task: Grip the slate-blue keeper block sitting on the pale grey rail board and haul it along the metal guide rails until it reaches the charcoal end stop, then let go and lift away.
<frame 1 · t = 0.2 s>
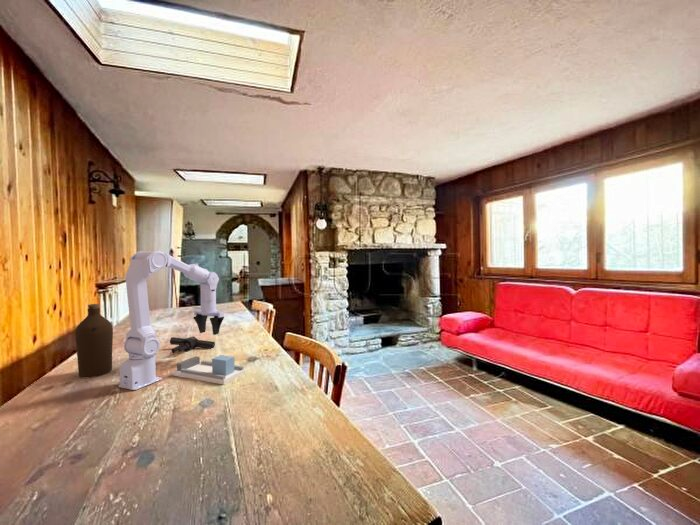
hand: (209, 333, 128), 10 cm above the table, tool pointing down, fingers open, 7 cm apart
rail board: (209, 374, 110), on the table
olive oil: (96, 373, 113), on the table
keeper: (223, 364, 108), point 4 cm above the table, slide at 0.0 cm
black forked piece: (187, 351, 137), on the table
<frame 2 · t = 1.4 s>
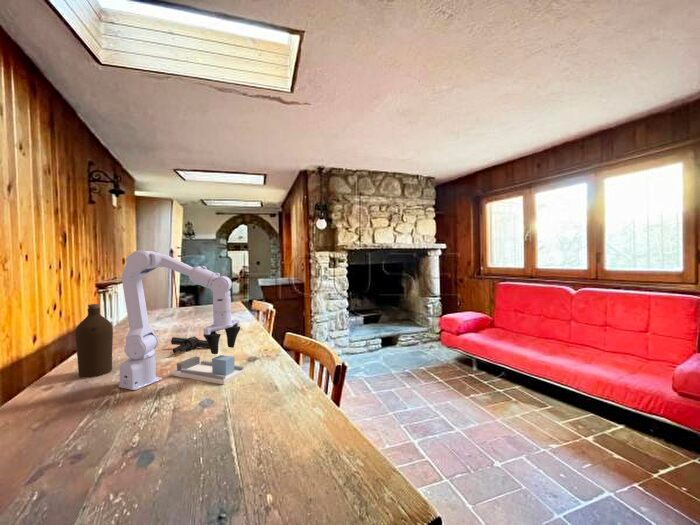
hand: (223, 350, 108), 9 cm above the table, tool pointing down, fingers open, 7 cm apart
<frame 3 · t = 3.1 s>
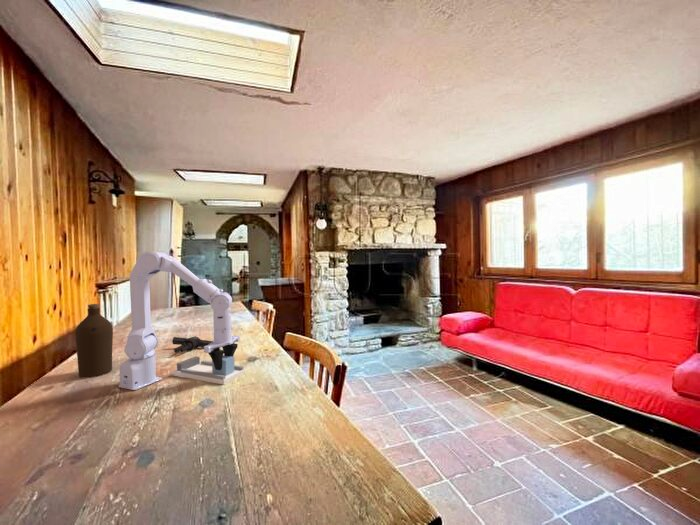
hand: (223, 367, 108), 3 cm above the table, tool pointing down, fingers closed on keeper, 4 cm apart
keeper: (223, 364, 108), point 4 cm above the table, slide at 0.0 cm, touching gripper
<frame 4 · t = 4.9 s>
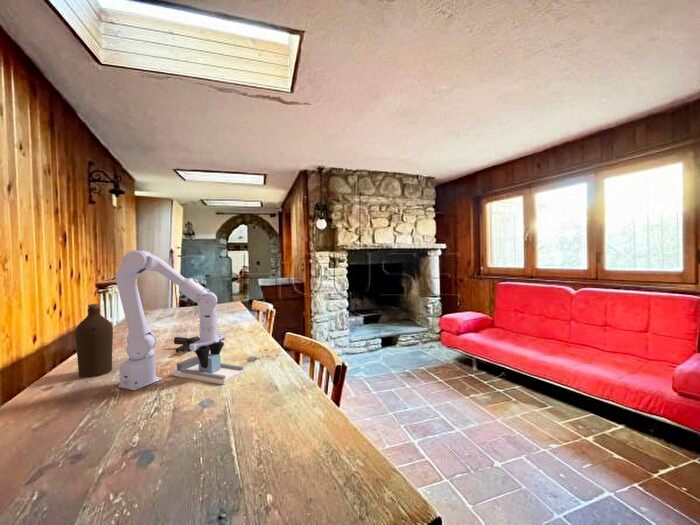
hand: (209, 365, 110), 3 cm above the table, tool pointing down, fingers closed on keeper, 4 cm apart
keeper: (209, 362, 110), point 4 cm above the table, slide at 6.2 cm, touching gripper
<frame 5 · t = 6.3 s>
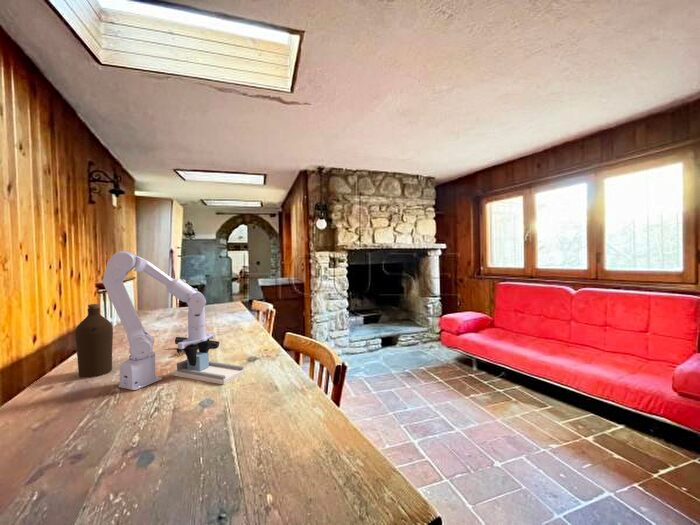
hand: (197, 363, 112), 3 cm above the table, tool pointing down, fingers closed on keeper, 4 cm apart
keeper: (197, 361, 112), point 4 cm above the table, slide at 11.7 cm, touching gripper
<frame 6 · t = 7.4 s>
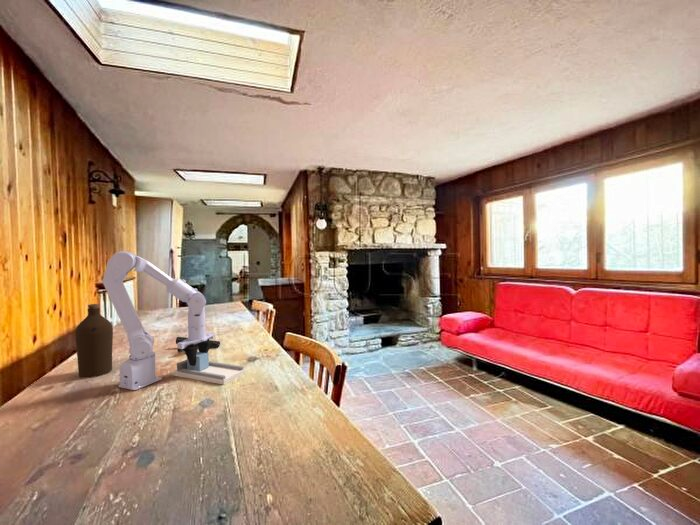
hand: (197, 363, 112), 3 cm above the table, tool pointing down, fingers closed on keeper, 4 cm apart
keeper: (197, 361, 112), point 4 cm above the table, slide at 11.8 cm, touching gripper
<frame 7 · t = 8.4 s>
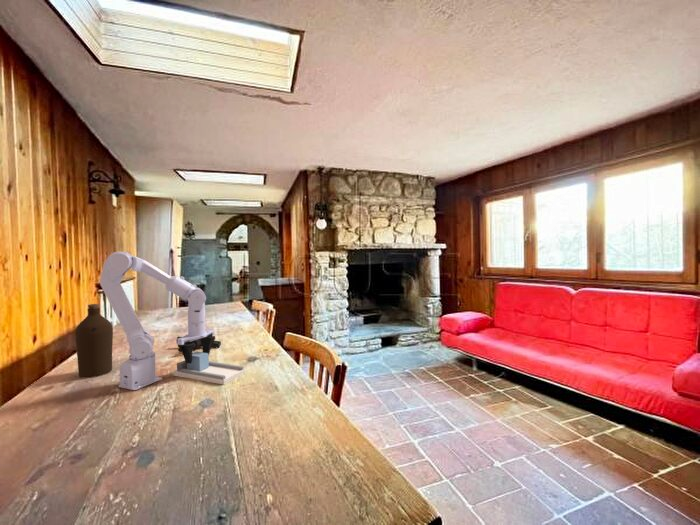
hand: (197, 359, 112), 5 cm above the table, tool pointing down, fingers open, 7 cm apart
keeper: (197, 361, 112), point 4 cm above the table, slide at 11.8 cm
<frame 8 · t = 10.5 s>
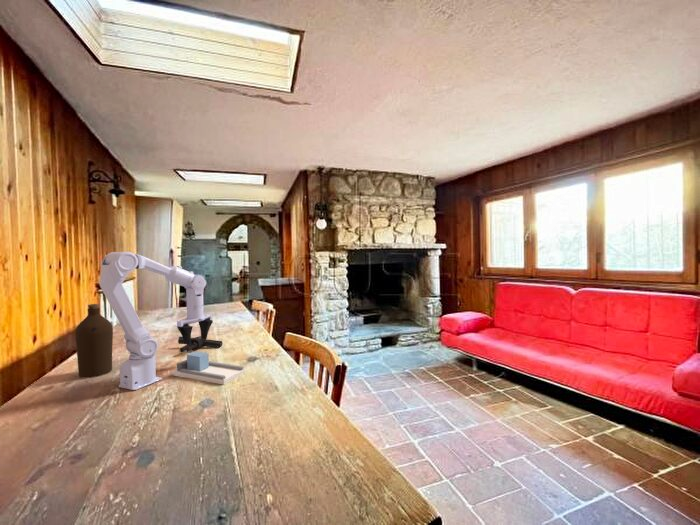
hand: (196, 341, 119), 9 cm above the table, tool pointing down, fingers open, 7 cm apart
at the end: keeper slide at 11.8 cm; the gripper is holding nothing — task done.
